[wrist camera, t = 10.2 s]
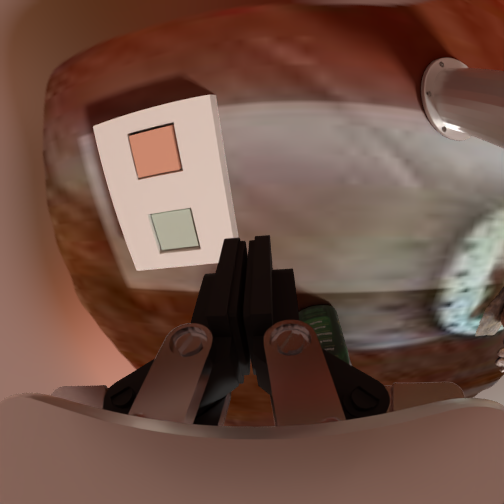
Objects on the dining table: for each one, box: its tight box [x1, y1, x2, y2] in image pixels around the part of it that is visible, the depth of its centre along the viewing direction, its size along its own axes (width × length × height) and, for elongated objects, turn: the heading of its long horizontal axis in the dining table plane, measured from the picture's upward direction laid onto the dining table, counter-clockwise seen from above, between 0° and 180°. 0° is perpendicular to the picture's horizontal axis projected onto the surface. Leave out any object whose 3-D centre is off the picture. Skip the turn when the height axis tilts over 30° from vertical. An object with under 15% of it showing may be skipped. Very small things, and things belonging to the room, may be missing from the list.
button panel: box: [93, 95, 239, 271], centre depth 32 cm, size 14×20×5 cm
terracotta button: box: [129, 124, 182, 178], centre depth 29 cm, size 5×5×3 cm
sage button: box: [151, 208, 200, 250], centre depth 34 cm, size 5×5×3 cm
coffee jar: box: [299, 305, 352, 366], centre depth 40 cm, size 10×8×19 cm
